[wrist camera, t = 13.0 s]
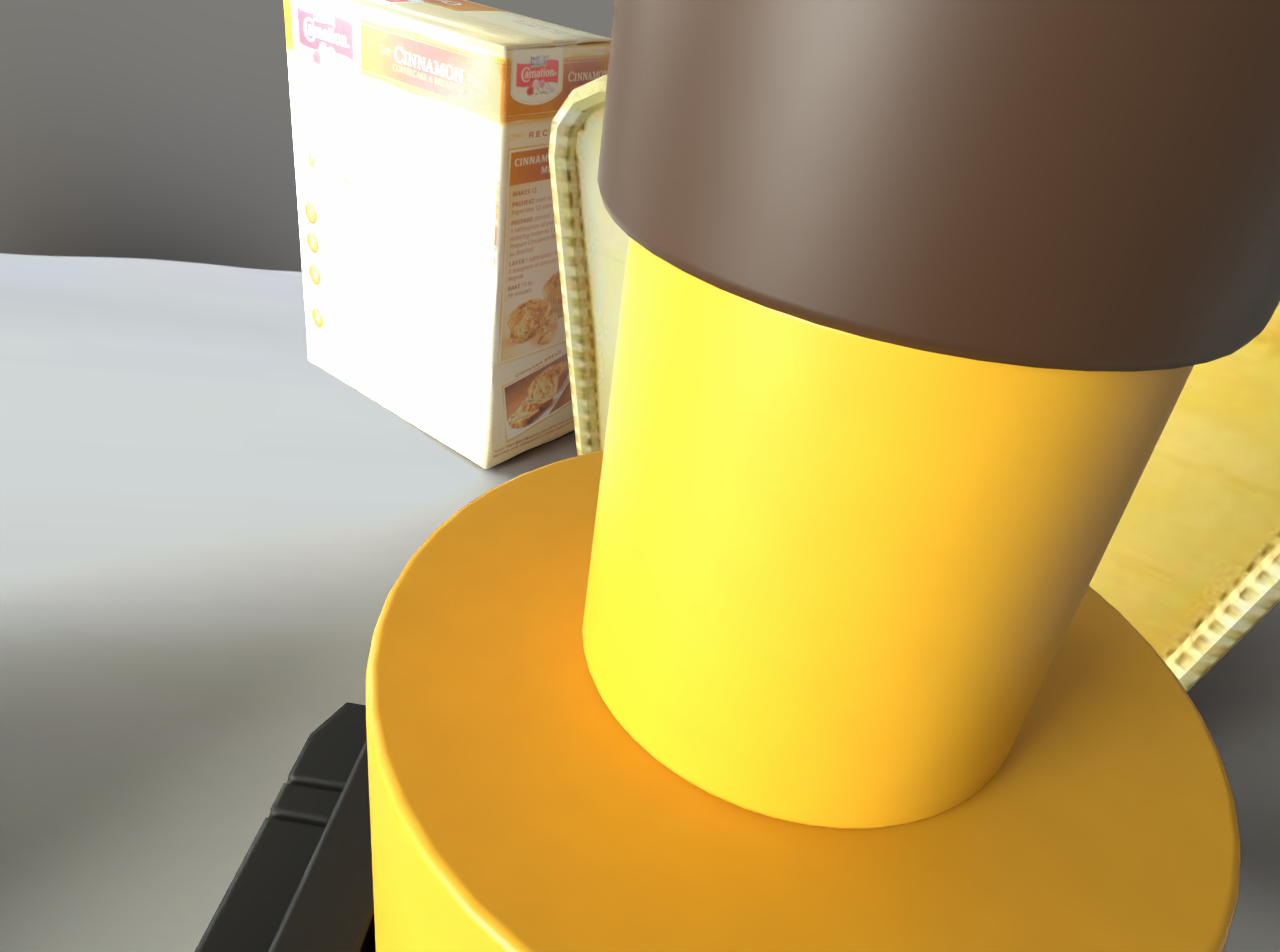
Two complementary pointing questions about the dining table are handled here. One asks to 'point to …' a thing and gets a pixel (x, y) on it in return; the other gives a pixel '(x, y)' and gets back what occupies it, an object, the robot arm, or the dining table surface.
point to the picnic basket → (1159, 507)
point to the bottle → (850, 504)
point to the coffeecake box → (436, 211)
